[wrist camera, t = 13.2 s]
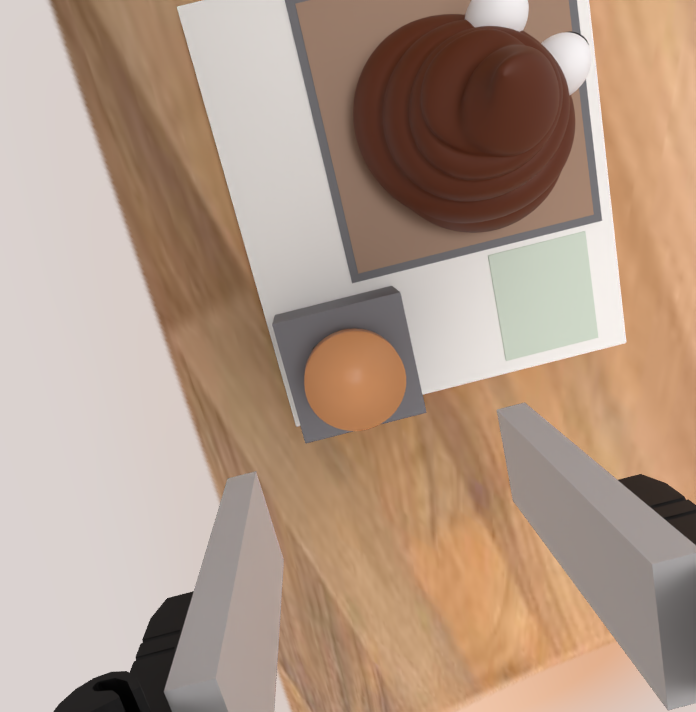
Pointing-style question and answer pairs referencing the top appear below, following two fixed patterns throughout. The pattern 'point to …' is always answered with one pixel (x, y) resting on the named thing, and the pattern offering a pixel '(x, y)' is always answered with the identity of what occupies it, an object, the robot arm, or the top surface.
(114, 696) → the robot arm
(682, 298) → the top surface
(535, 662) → the top surface
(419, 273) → the picture board
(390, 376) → the button
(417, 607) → the top surface
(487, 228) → the poop emoji
